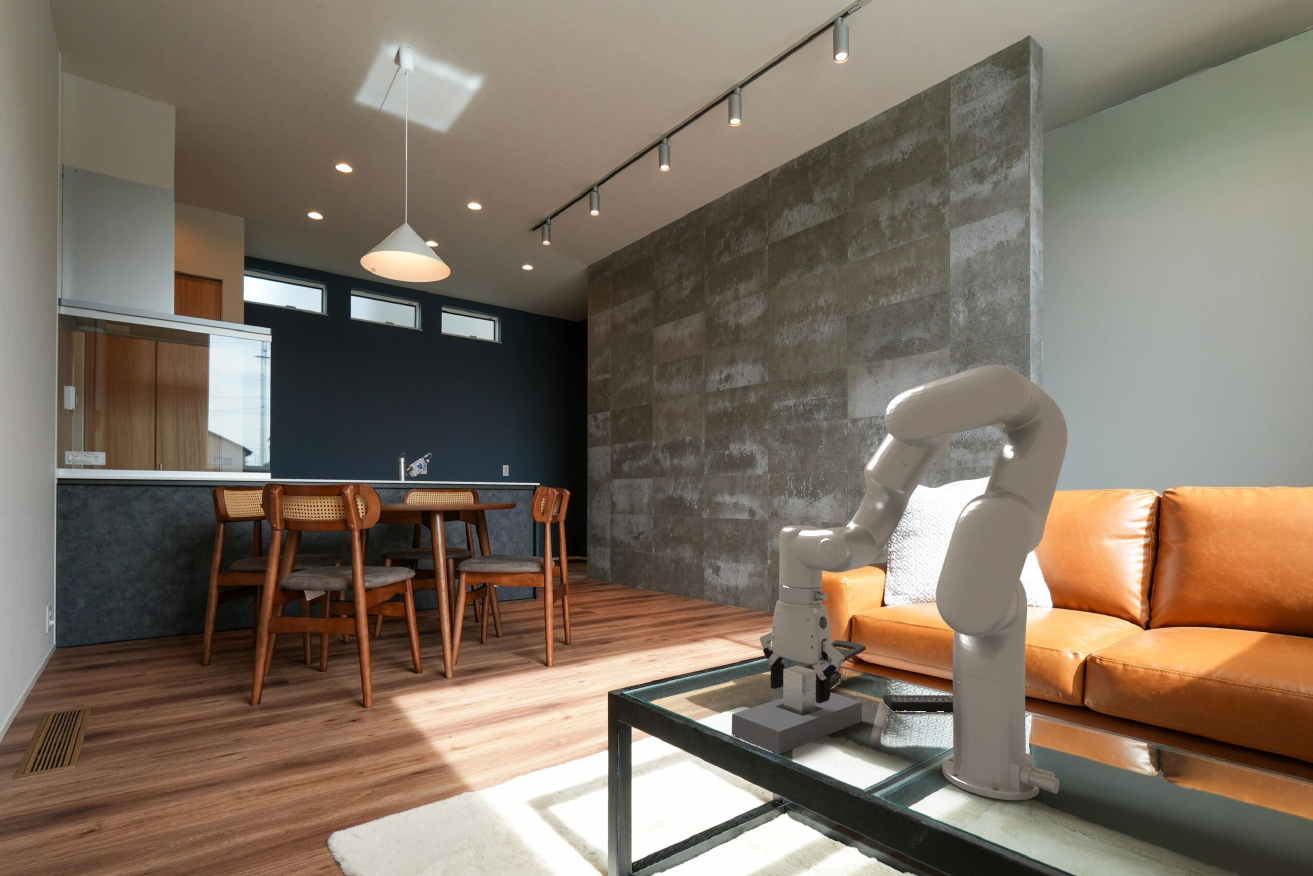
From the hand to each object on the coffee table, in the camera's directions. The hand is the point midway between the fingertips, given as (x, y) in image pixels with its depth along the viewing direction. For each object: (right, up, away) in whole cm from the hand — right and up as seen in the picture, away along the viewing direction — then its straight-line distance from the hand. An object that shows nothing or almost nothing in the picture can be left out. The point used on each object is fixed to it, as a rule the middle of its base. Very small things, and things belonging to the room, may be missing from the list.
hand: (799, 694), depth 115 cm
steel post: (0, -6, 0) cm, 6 cm away
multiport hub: (+27, -8, +12) cm, 30 cm away
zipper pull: (+12, -9, +28) cm, 32 cm away
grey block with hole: (0, -6, 0) cm, 6 cm away
